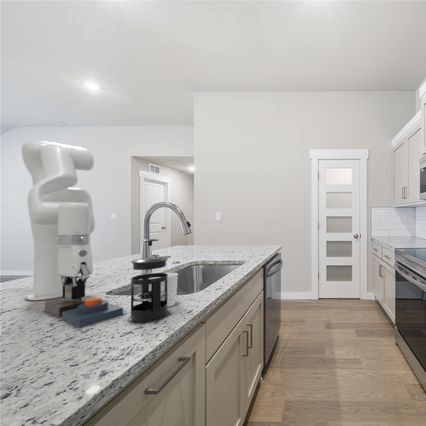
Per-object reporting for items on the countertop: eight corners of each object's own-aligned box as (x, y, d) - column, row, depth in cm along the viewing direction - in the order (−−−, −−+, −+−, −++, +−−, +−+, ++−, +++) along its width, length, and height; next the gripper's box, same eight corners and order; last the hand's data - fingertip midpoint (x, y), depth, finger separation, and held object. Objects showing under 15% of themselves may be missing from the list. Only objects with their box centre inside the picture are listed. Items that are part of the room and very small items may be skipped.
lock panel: (44, 310, 80) (44, 300, 80) (85, 301, 88) (85, 292, 88) (59, 318, 74) (59, 307, 74) (101, 307, 83) (101, 297, 83)
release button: (82, 305, 74) (82, 299, 74) (98, 302, 77) (98, 296, 77) (88, 307, 72) (88, 301, 72) (103, 304, 75) (103, 298, 75)
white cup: (157, 311, 79) (157, 279, 79) (145, 306, 83) (145, 276, 84) (182, 303, 86) (182, 274, 86) (170, 299, 90) (170, 271, 90)
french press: (125, 316, 75) (126, 239, 75) (161, 308, 82) (161, 237, 82) (136, 328, 67) (137, 241, 67) (175, 317, 74) (175, 239, 74)
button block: (61, 319, 73) (62, 305, 73) (104, 308, 82) (104, 295, 82) (79, 328, 67) (79, 313, 67) (123, 315, 76) (123, 301, 76)
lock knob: (62, 300, 80) (62, 283, 80) (78, 296, 84) (78, 280, 84) (69, 302, 79) (69, 285, 79) (85, 298, 82) (85, 282, 82)
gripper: (104, 240, 82) (103, 296, 82) (73, 238, 88) (73, 291, 88) (75, 242, 75) (74, 304, 75) (44, 240, 81) (43, 298, 81)
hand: (73, 296), depth 81 cm, fingers closed on lock knob, 4 cm apart
